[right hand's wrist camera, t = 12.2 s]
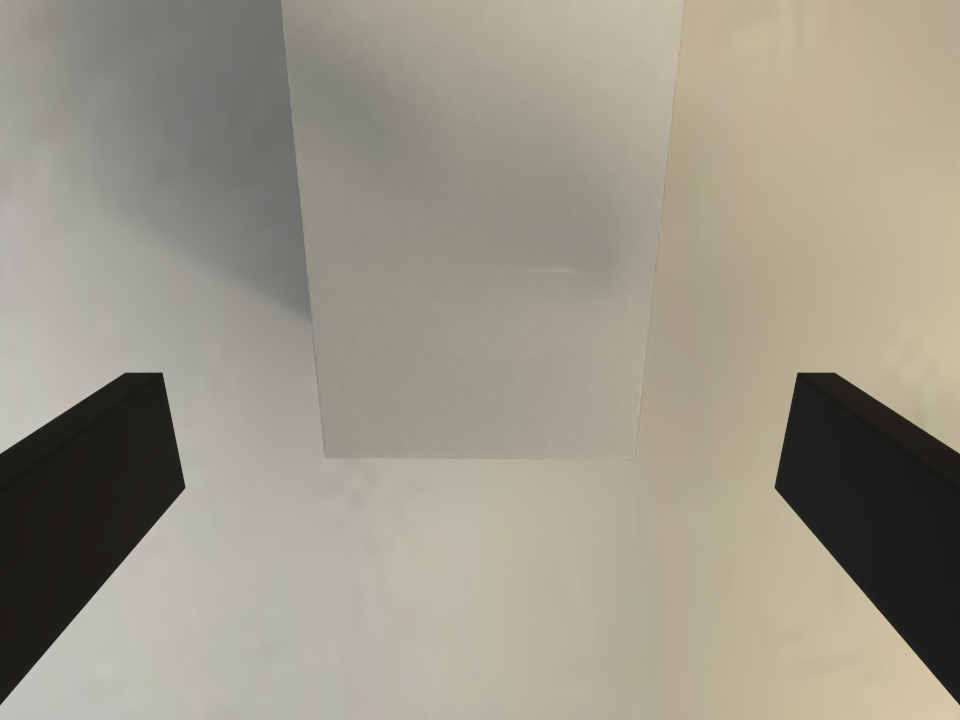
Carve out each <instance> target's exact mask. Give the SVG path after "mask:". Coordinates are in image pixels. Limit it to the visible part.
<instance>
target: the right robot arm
mask: <svg viewBox="0 0 960 720" xmlns="http://www.w3.org/2000/svg"><path fill="white" fill-rule="evenodd" d="M184 489H185V483H184V478H183V473H182V468H181V463H180V458H179V453H178V448H177V443H176V438H175V433H174V428H173V423H172V418H171V413H170V408H169V403H168V398H167V393H166V388H165V383H164V378H163V373H124V374H123V375H121V376H120V377H118V378H116V379H115V380H113V381H112V382H110V383H109V384H107V385H106V386H104V387H103V388H101V389H100V390H98V391H96V392H95V393H93V394H92V395H90V396H89V397H87V398H86V399H84V400H83V401H81V402H79V403H78V404H76V405H75V406H73V407H72V408H70V409H69V410H67V411H66V412H64V413H63V414H61V415H59V416H58V417H56V418H55V419H53V420H52V421H50V422H49V423H47V424H46V425H44V426H43V427H41V428H39V429H38V430H36V431H35V432H33V433H32V434H30V435H29V436H27V437H26V438H24V439H22V440H21V441H19V442H18V443H16V444H15V445H13V446H12V447H10V448H9V449H7V450H6V451H4V452H2V453H1V454H0V705H1V704H2V702H3V701H4V700H5V699H6V698H7V697H8V695H9V694H10V693H11V692H12V691H13V690H14V688H15V687H16V686H17V685H18V684H19V683H20V681H21V680H22V679H23V678H24V677H25V675H26V674H27V673H28V672H29V671H30V670H31V668H32V667H33V666H34V665H35V664H36V663H37V661H38V660H39V659H40V658H41V657H42V656H43V654H44V653H45V652H46V651H47V650H48V649H49V647H50V646H51V645H52V644H53V643H54V641H55V640H56V639H57V638H58V637H59V636H60V634H61V633H62V632H63V631H64V630H65V629H66V627H67V626H68V625H69V624H70V623H71V622H72V620H73V619H74V618H75V617H76V616H77V615H78V613H79V612H80V611H81V610H82V609H83V607H84V606H85V605H86V604H87V603H88V602H89V600H90V599H91V598H92V597H93V596H94V595H95V593H96V592H97V591H98V590H99V589H100V588H101V586H102V585H103V584H104V583H105V582H106V580H107V579H108V578H109V577H110V576H111V575H112V573H113V572H114V571H115V570H116V569H117V568H118V566H119V565H120V564H121V563H122V562H123V561H124V559H125V558H126V557H127V556H128V555H129V554H130V552H131V551H132V550H133V549H134V548H135V546H136V545H137V544H138V543H139V542H140V541H141V539H142V538H143V537H144V536H145V535H146V534H147V532H148V531H149V530H150V529H151V528H152V527H153V525H154V524H155V523H156V522H157V521H158V520H159V518H160V517H161V516H162V515H163V514H164V512H165V511H166V510H167V509H168V508H169V507H170V505H171V504H172V503H173V502H174V501H175V500H176V498H177V497H178V496H179V495H180V494H181V493H182V491H183V490H184ZM775 489H776V490H777V491H778V493H779V494H780V495H781V496H782V497H783V498H784V500H785V501H786V502H787V503H788V504H789V505H790V507H791V508H792V509H793V510H794V511H795V512H796V514H797V515H798V516H799V517H800V518H801V520H802V521H803V522H804V523H805V524H806V525H807V527H808V528H809V529H810V530H811V531H812V532H813V534H814V535H815V536H816V537H817V538H818V539H819V541H820V542H821V543H822V544H823V545H824V546H825V548H826V549H827V550H828V551H829V552H830V554H831V555H832V556H833V557H834V558H835V559H836V561H837V562H838V563H839V564H840V565H841V566H842V568H843V569H844V570H845V571H846V572H847V573H848V575H849V576H850V577H851V578H852V579H853V581H854V582H855V583H856V584H857V585H858V586H859V588H860V589H861V590H862V591H863V592H864V593H865V595H866V596H867V597H868V598H869V599H870V600H871V602H872V603H873V604H874V605H875V606H876V607H877V609H878V610H879V611H880V612H881V613H882V615H883V616H884V617H885V618H886V619H887V620H888V622H889V623H890V624H891V625H892V626H893V627H894V629H895V630H896V631H897V632H898V633H899V634H900V636H901V637H902V638H903V639H904V640H905V641H906V643H907V644H908V645H909V646H910V647H911V649H912V650H913V651H914V652H915V653H916V654H917V656H918V657H919V658H920V659H921V660H922V661H923V663H924V664H925V665H926V666H927V667H928V668H929V670H930V671H931V672H932V673H933V674H934V675H935V677H936V678H937V679H938V680H939V681H940V683H941V684H942V685H943V686H944V687H945V688H946V690H947V691H948V692H949V693H950V694H951V695H952V697H953V698H954V699H955V700H956V701H957V702H958V704H959V705H960V454H959V453H958V452H956V451H954V450H953V449H951V448H950V447H948V446H947V445H945V444H944V443H942V442H941V441H939V440H938V439H936V438H934V437H933V436H931V435H930V434H928V433H927V432H925V431H924V430H922V429H921V428H919V427H917V426H916V425H914V424H913V423H911V422H910V421H908V420H907V419H905V418H904V417H902V416H901V415H899V414H897V413H896V412H894V411H893V410H891V409H890V408H888V407H887V406H885V405H884V404H882V403H881V402H879V401H877V400H876V399H874V398H873V397H871V396H870V395H868V394H867V393H865V392H864V391H862V390H860V389H859V388H857V387H856V386H854V385H853V384H851V383H850V382H848V381H847V380H845V379H844V378H842V377H840V376H839V375H837V374H836V373H797V378H796V383H795V388H794V393H793V398H792V403H791V408H790V413H789V418H788V423H787V428H786V433H785V438H784V443H783V448H782V453H781V458H780V463H779V468H778V473H777V478H776V483H775Z"/></svg>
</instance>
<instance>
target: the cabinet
mask: <svg viewBox="0 0 960 720" xmlns="http://www.w3.org/2000/svg"><path fill="white" fill-rule="evenodd" d="M280 2H281V12H282V23H283V33H284V43H285V53H286V64H287V74H288V84H289V95H290V105H291V115H292V125H293V136H294V146H295V156H296V166H297V177H298V187H299V197H300V208H301V218H302V228H303V238H304V249H305V259H306V269H307V280H308V290H309V300H310V310H311V321H312V331H313V341H314V352H315V362H316V372H317V382H318V393H319V403H320V413H321V423H322V434H323V444H324V454H325V458H405V459H635V455H636V446H637V436H638V427H639V418H640V409H641V399H642V390H643V381H644V372H645V363H646V353H647V344H648V335H649V326H650V317H651V307H652V298H653V289H654V280H655V270H656V261H657V252H658V243H659V234H660V224H661V215H662V206H663V197H664V188H665V178H666V169H667V160H668V151H669V141H670V132H671V123H672V114H673V105H674V95H675V86H676V77H677V68H678V58H679V49H680V40H681V31H682V22H683V12H684V3H685V0H280Z"/></svg>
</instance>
